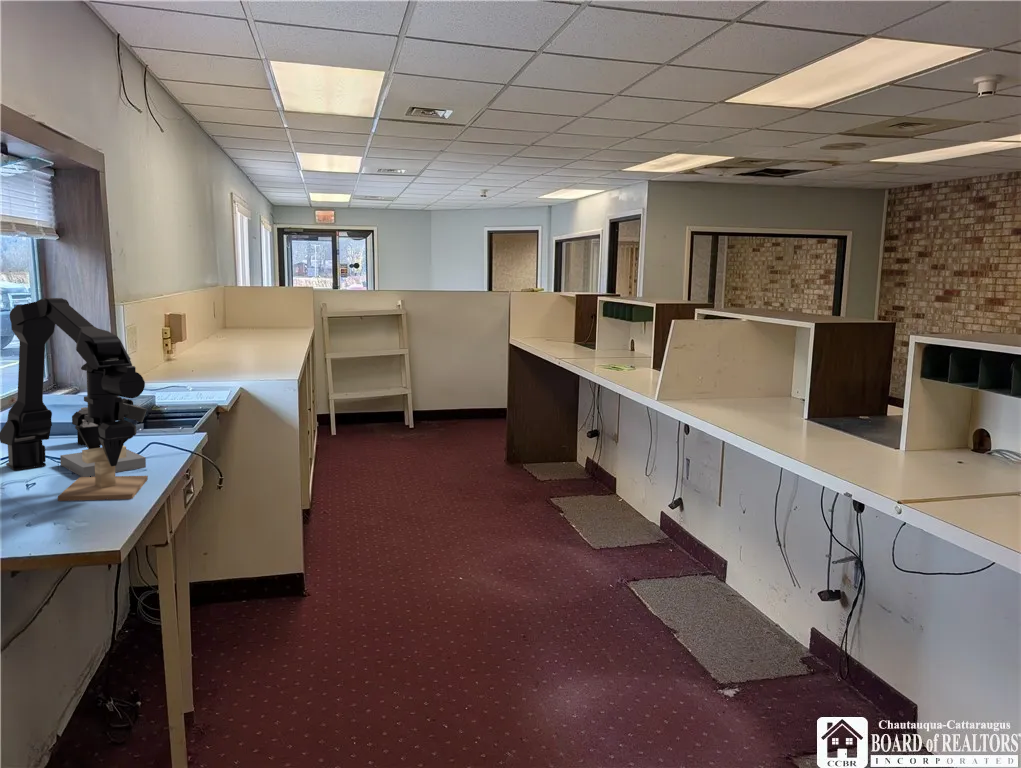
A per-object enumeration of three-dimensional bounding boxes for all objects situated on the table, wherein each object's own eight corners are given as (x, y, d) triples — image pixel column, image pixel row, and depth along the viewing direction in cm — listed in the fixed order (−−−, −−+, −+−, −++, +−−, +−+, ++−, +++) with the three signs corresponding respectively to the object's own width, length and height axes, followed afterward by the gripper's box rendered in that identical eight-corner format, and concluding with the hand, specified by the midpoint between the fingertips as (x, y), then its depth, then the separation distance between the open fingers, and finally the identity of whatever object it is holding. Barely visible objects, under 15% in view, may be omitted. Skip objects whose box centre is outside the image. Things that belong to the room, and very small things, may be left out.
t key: (88, 490, 145) (87, 452, 144) (82, 487, 147) (81, 449, 146) (127, 483, 152) (126, 446, 150) (121, 480, 154) (120, 444, 152)
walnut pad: (132, 498, 145) (132, 494, 145) (58, 500, 141) (57, 496, 141) (147, 479, 158) (147, 475, 158) (80, 481, 154) (79, 477, 154)
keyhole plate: (83, 477, 157) (83, 467, 156) (60, 465, 165) (60, 455, 165) (145, 467, 168) (145, 457, 167) (121, 455, 176) (121, 446, 176)
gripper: (160, 395, 147) (161, 464, 149) (123, 383, 158) (124, 447, 161) (105, 400, 138) (107, 473, 141) (69, 387, 149) (72, 455, 152)
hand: (104, 461), depth 149 cm, fingers open, 9 cm apart
